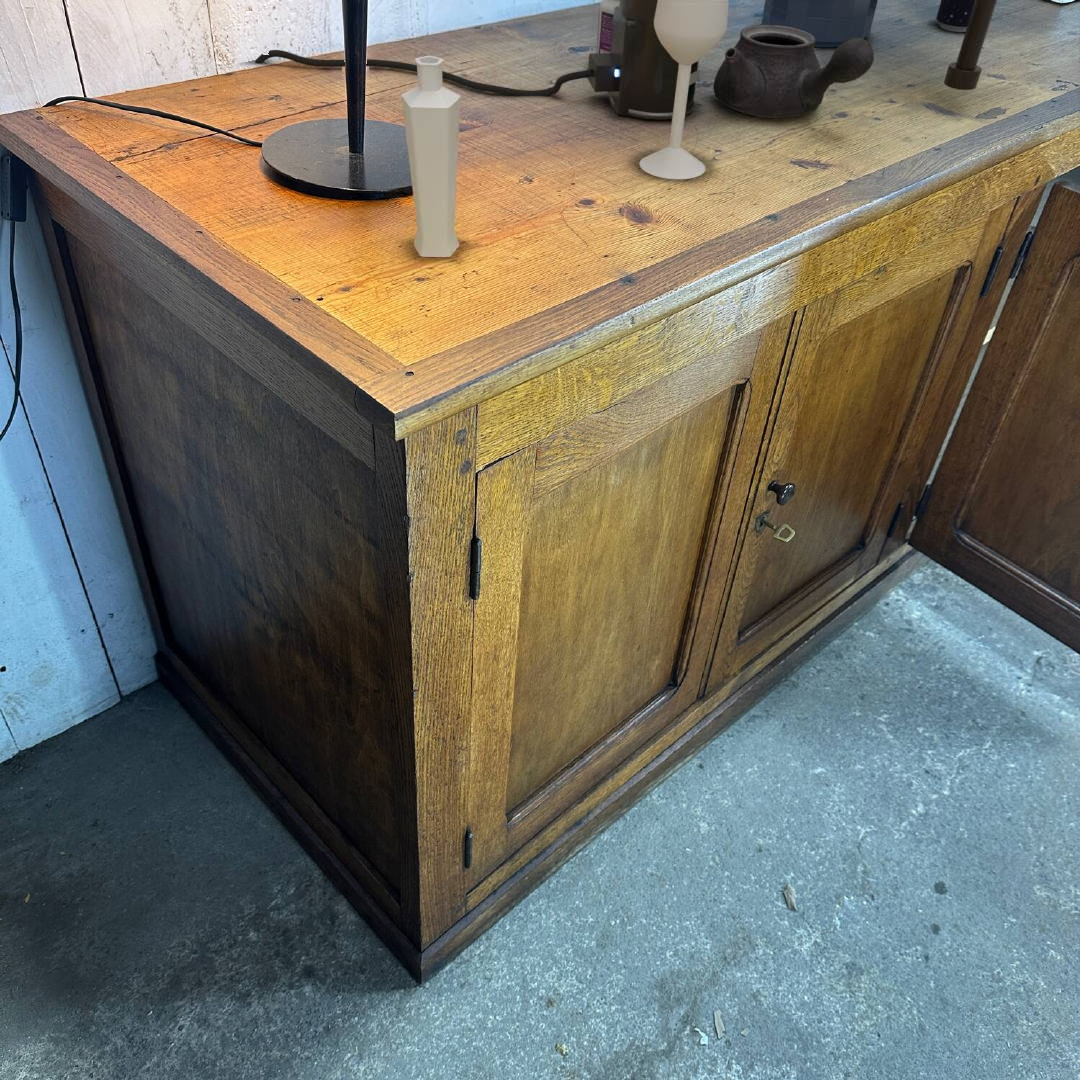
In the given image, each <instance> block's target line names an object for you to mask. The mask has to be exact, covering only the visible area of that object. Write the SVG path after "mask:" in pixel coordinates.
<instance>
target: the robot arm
mask: <svg viewBox="0 0 1080 1080" xmlns="http://www.w3.org/2000/svg"><path fill="white" fill-rule="evenodd" d="M657 2H658V0H620V4H619V6H617V7H615V8H614V16H613V28H612V41H611V53H596V52H595V53H589V54H588V66H587V69H585V70H579V71H573V72H569V73H565V74H563V75H562V76H560V77H558V78H557V79H556V80H555V83H554V85H553V86H552V87H548V88H544V89H537V90H526V89H525V90H524V89H523V90H522V89H516V88H510V87H505V86H500V85H494V84H488V83H482V82H476V81H473V80H471V79H467V78H464V77H461V76H458V75H457V74H453V73H450V72H447V71H444V70H442V80H447V81H450V82H453V83H455V84H458V85H461V86H464V87H466V88H469V89H473V90H476V91H482V92H487V93H492V94H493V93H494V94H499V95H503V96H504V95H505V96H509V97H510V96H511V97H548V96H549V97H550V96H553V95H555V94H557V93H558V92H559V91H561V90H560V89H561V88H562V85H564V84H566V83H568V82H570V81H575V80H580V79H587V81H588V83H589V84H590V87H591V88H592V89H593V91H594V92H595V93H606V98H607V100H608V102H609V104H610V106H611V107H612V108H613V110H614V111H615V113H616V115H617V116H627V117H628V116H629V117H634V118H638V119H644V120H657V121H659V120H660V121H662V120H663V121H664V120H672V118H673V109H674V101H675V93H676V85H677V77H678V69H679V63H678V62H677V61H675V60H674V59H673V58H672V57H671V56H670V54H669V53H668V52H667V50H666V49H665V48H664V46H663V45H662V44H661V42H660V40H659V38H658V36H657V34H656V31H655V28H654V18H655V12H656V7H657ZM268 51H269V50H268ZM268 54H269V55H263V53H261V54H260V55H259V56H258V57H257V58H256V60H255V61H254V64H263V63H264V62H266V61H267V60H268V59H272V58H282V59H286V60H289V61H292V62H295V63H298V64H302V65H305V66H310V67H320V68H322V67H323V68H341V67H342V68H344V67H345V62H344V60H345V59H320V58H319V59H318V58H317V59H316V58H309V57H305V56H302V55H299V54H295V53H292V52H289V51H285V50H281V49H270V51H269V53H268ZM366 59H367V64H366V66H365V67H377V68H387V69H396V70H397V69H398V70H403V71H409V72H414V73H417V64H413V63H408V62H402V61H395V60H387V59H375V58H370V59H369V58H366ZM699 62H700V60H699V61H697V62H695V63H693V64H692V65H691V72H690V80H689V88H688V95H687V103H686V111H685V117H686V116H688V115H690V114H691V113H692V112H693V110H694V107H695V106H694V105H695V95H696V87H697V86H696V84H697V82H699V81H700V77H701V76H700V75H701V69H699Z"/></svg>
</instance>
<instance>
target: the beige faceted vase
mask: <svg viewBox="0 0 1080 1080" xmlns="http://www.w3.org/2000/svg"><path fill="white" fill-rule="evenodd" d="M414 61H415V63H416V65H417V72H416V73H417V86H415V87H413V88H411V89H409V90H407V91H406V92H403V93H402V94H400V96H401V104H402V112H403V113H402V114H403V120H404V121H403V122H404V129H405V138H406V146H407V147H406V148H407V154H408V155H407V156H408V163H409V170H410V179H411V180H410V181H411V187H412V195H413V196H412V197H413V204H414V212H415V219H416V220H415V221H416V232H415V236H414V241H413V246H414V249H415V250H416V252H417V253H418V255H419V256H420V257H421V258H450V257H452V256H453V254H454V253H455V252H456V251H457V249H458V248H459V247H460V243H459V240H458V236H457V233H456V230H455V225H456V223H455V222H456V205H457V186H458V185H457V183H458V182H457V181H458V162H459V141H460V121H461V120H460V119H461V102H462V101H461V100H462V96H461V95H459V94H458V93H456V92H454V91H453V90H451V89H449V88H447V87H445V86H444V85H443V78H442V71H443V62H444V61H445V59H444V58H441V57H437V56H434V55H425V56H420V57H415V58H414Z"/></svg>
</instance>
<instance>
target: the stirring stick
mask: <svg viewBox="0 0 1080 1080" xmlns="http://www.w3.org/2000/svg"><path fill="white" fill-rule="evenodd" d="M997 2H998V0H975V3H974V6H973V10H972V13H971V16H970V20H969V23H968V26H967V29H966V32H964V33H965V34H964V36H963V39H962V40H963V41H962V43H961V46H960V49H959V52H958V56H957V59H956V61H954V62H949V65H948V66H947V71H946V74H945V77H944V80H943V84H944V86H946V87H948V88H950V89H954V90H959V91H972V90H975V89H977V86H978V83H979V81H980V76H981V74H982V71H983V69H982V67H981V66H980V65H978V62H979V58H980V55H981V53H982V50H983V46H984V43H985V41H986V37H987V34H988V31H989V27H990V24H991V21H992V18H993V15H994V13H995V8H996V5H997Z"/></svg>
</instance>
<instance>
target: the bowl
mask: <svg viewBox="0 0 1080 1080" xmlns="http://www.w3.org/2000/svg"><path fill="white" fill-rule="evenodd" d="M878 1H879V0H764V5H763V12H762V17H761V23H760V25H769V26H777V25H778V26H786V27H792V28H796V29H799V30H803V31H806V32H808V33H810V34H811V35H812V36H814V38H815V40H816V41H815V44H814V48H815V47H817V48H838V47H839V46H840V45H842V44H843V43H845V42H846V41H848V40H850V39H853V38H863V39H865V38H866V37H868V36H870V34H871V30H872V26H873V21H874V17H875V13H876V10H877V5H878Z"/></svg>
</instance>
